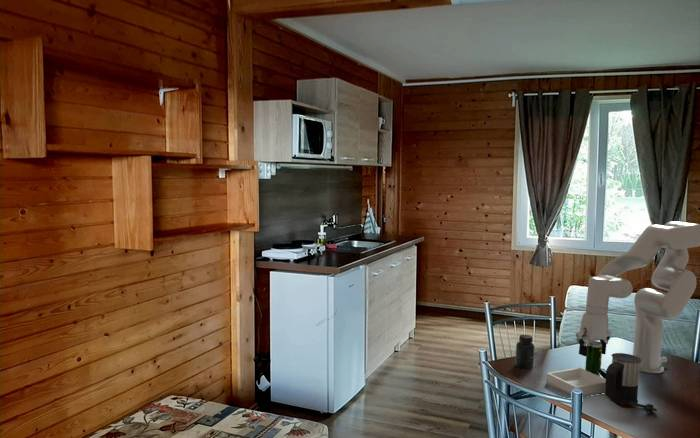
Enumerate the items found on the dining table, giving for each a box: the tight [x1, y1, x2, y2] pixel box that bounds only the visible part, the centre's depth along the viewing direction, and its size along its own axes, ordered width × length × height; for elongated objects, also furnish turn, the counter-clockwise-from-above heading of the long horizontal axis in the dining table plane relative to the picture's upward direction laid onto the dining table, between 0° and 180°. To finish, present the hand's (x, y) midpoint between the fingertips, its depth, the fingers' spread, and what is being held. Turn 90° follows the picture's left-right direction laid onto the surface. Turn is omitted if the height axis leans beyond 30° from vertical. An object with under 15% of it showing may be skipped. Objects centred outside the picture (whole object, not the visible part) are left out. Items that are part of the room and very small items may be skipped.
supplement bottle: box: [514, 334, 535, 370], centre depth 217 cm, size 7×7×12 cm
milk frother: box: [605, 352, 658, 414], centre depth 184 cm, size 14×16×15 cm
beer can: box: [584, 340, 603, 376], centre depth 212 cm, size 5×5×12 cm
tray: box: [545, 367, 606, 399], centre depth 197 cm, size 16×14×4 cm
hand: (592, 354), depth 211 cm, fingers open, 9 cm apart
